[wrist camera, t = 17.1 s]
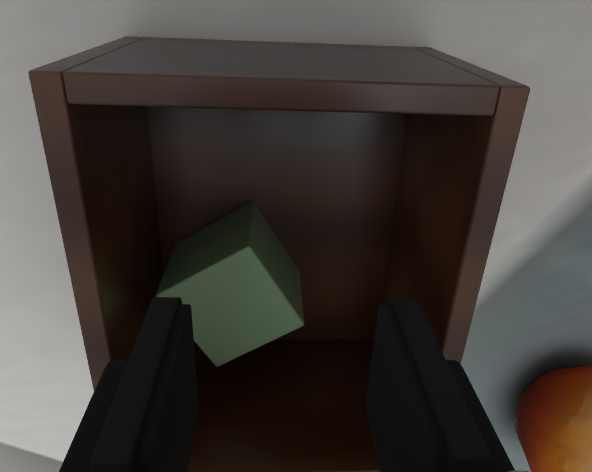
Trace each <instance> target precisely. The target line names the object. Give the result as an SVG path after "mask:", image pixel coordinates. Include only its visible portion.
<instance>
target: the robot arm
mask: <svg viewBox="0 0 592 472" xmlns="http://www.w3.org/2000/svg"><path fill="white" fill-rule="evenodd" d="M197 410H198V393H197V379H196V365H195V351H194V337H193V323H192V310H191V305H190V304H182V300H181V298H180V297H154V298H153V299H152V301H151V303H150V306H149V308H148V311H147V314H146V316H145V319H144V321H143V324H142V327H141V329H140V332H139V334H138V337H137V340H136V342H135V345H134V347H133V350H132V353H131V355H130V358H129V360H128V361H110V362H108V363H107V365H106V367H105V368H104V371H103V373H102V375H101V377H100V380H99V382H98V384H97V386H96V389H95V391H94V393H93V396H92V398H91V400H90V402H89V405H88V407H87V409H86V412H85V414H84V416H83V418H82V421H81V423H80V425H79V427H78V430H77V432H76V434H75V437H74V439H73V441H72V443H71V446H70V448H69V450H68V452H67V455H66V457H65V459H64V462H63V464H62V467H61V468H60V471H59V472H187V470H188V465H189V459H190V453H191V447H192V441H193V436H194V430H195V424H196V418H197ZM366 410H367V416H368V420H369V425H370V429H371V434H372V438H373V442H374V447H375V451H376V455H377V460H378V464H379V469H380V472H528V471H515V469H514V468H513V466H512V464H511V462H510V460H509V458H508V456H507V454H506V452H505V450H504V448H503V446H502V444H501V442H500V440H499V438H498V436H497V434H496V432H495V430H494V428H493V426H492V424H491V422H490V420H489V418H488V416H487V415H486V413H485V411H484V409H483V407H482V405H481V403H480V401H479V399H478V397H477V395H476V393H475V391H474V389H473V387H472V385H471V383H470V381H469V379H468V377H467V375H466V373H465V371H464V369H463V368H462V366H461V365H460V363H459V362H458V361H456V360H445V357H444V355H443V353H442V351H441V349H440V347H439V345H438V343H437V341H436V338H435V336H434V334H433V332H432V330H431V328H430V326H429V324H428V322H427V319H426V317H425V315H424V313H423V311H422V309H421V307H420V305H419V303H418V301H417V299H411V298H390V299H389V300H388V303H387V305H380V306H379V310H378V316H377V324H376V331H375V338H374V345H373V352H372V360H371V367H370V374H369V381H368V388H367V395H366Z"/></svg>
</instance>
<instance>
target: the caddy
mask: <svg viewBox="0 0 592 472" xmlns="http://www.w3.org/2000/svg"><path fill="white" fill-rule="evenodd" d="M29 78H30V82H31V87H32V92H33V97H34V102H35V107H36V112H37V117H38V121H39V126H40V131H41V136H42V141H43V146H44V151H45V155H46V160H47V165H48V170H49V175H50V180H51V185H52V189H53V194H54V199H55V204H56V209H57V214H58V219H59V223H60V228H61V233H62V238H63V243H64V248H65V253H66V257H67V262H68V267H69V272H70V277H71V282H72V287H73V291H74V296H75V301H76V306H77V311H78V316H79V321H80V325H81V330H82V335H83V340H84V345H85V350H86V355H87V359H88V364H89V369H90V374H91V379H92V384H93V389H94V391H95V389H96V386H97V384H98V382H99V380H100V377H101V375H102V373H103V371H104V368H105V367H106V365H107V363H108V362H110V361H128V360H129V358H130V355H131V353H132V350H133V347H134V345H135V342H136V340H137V337H138V334H139V332H140V329H141V327H142V324H143V321H144V319H145V316H146V314H147V311H148V308H149V306H150V303H151V301H152V299H153V298H154V297H156V293H157V290H158V288H159V285H160V282H161V280H162V277H163V274H164V272H165V269H166V266H167V264H168V261H169V258H170V255H171V253H172V250H173V247H174V245H175V243H177V242H179V241H181V240H182V239H184V238H186V237H188V236H190V235H192V234H193V233H195V232H197V231H199V230H201V229H203V228H204V227H206V226H208V225H210V224H212V223H214V222H215V221H217V220H219V219H221V218H223V217H225V216H226V215H228V214H230V213H232V212H234V211H236V210H237V209H239V208H241V207H243V206H245V205H247V204H248V203H250V202H254V203H255V204H256V206H257V207H258V209H259V210H260V212H261V213H262V215H263V217H264V218H265V220H266V221H267V223H268V224H269V226H270V227H271V229H272V230H273V232H274V233H275V235H276V236H277V238H278V239H279V241H280V242H281V244H282V245H283V247H284V248H285V250H286V251H287V253H288V254H289V256H290V257H291V259H292V260H293V262H294V263H295V265H296V266H297V268H298V269H299V274H300V284H301V295H302V305H303V315H304V326H302V327H300V328H298V329H296V330H294V331H292V332H289V333H287V334H285V335H283V336H281V337H279V338H277V339H275V340H273V341H271V342H269V343H266V344H264V345H262V346H260V347H258V348H256V349H254V350H252V351H250V352H248V353H245V354H243V355H241V356H239V357H237V358H235V359H233V360H231V361H229V362H227V363H225V364H222V365H220V366H218V367H216V366H215V365H214V363H213V362H212V361H211V360H210V359H209V358H208V356H207V355H206V354H205V353H204V352H203V351H202V349H201V348H200V347H199V346H198V345H197V344H196V342H195V341H194V351H195V365H196V379H197V393H198V410H197V418H196V424H195V430H194V436H193V441H192V447H191V453H190V459H189V465H188V470H187V472H380V469H379V464H378V460H377V455H376V451H375V447H374V442H373V438H372V434H371V429H370V425H369V420H368V416H367V410H366V395H367V388H368V381H369V374H370V367H371V360H372V352H373V345H374V338H375V331H376V324H377V316H378V310H379V306H380V305H387V303H388V300H389V299H390V298H411V299H417V301H418V303H419V305H420V307H421V309H422V311H423V313H424V315H425V317H426V319H427V322H428V324H429V326H430V328H431V330H432V332H433V334H434V336H435V338H436V341H437V343H438V345H439V347H440V349H441V351H442V353H443V355H444V357H445V360H456V361H458V362H459V363H460V364H461V360H462V356H463V352H464V348H465V344H466V340H467V336H468V332H469V329H470V325H471V321H472V317H473V313H474V309H475V305H476V301H477V297H478V293H479V289H480V285H481V281H482V277H483V273H484V269H485V265H486V261H487V257H488V253H489V249H490V245H491V242H492V238H493V234H494V230H495V226H496V222H497V218H498V214H499V210H500V206H501V202H502V198H503V194H504V190H505V186H506V182H507V178H508V174H509V170H510V166H511V162H512V158H513V155H514V151H515V147H516V143H517V139H518V135H519V131H520V127H521V123H522V119H523V115H524V111H525V107H526V103H527V99H528V95H529V91H530V88H529V87H528V86H526V85H523V84H521V83H518V82H516V81H513V80H511V79H508V78H506V77H503V76H500V75H498V74H495V73H493V72H490V71H488V70H485V69H483V68H480V67H478V66H475V65H473V64H470V63H468V62H465V61H463V60H460V59H458V58H455V57H452V56H450V55H447V54H445V53H442V52H440V51H437V50H435V49H432V48H426V47H398V46H371V45H343V44H316V43H289V42H261V41H234V40H206V39H179V38H152V37H123V38H121V39H118V40H115V41H112V42H109V43H106V44H103V45H101V46H98V47H95V48H92V49H89V50H87V51H84V52H81V53H78V54H75V55H73V56H70V57H67V58H64V59H61V60H58V61H56V62H53V63H50V64H47V65H44V66H42V67H39V68H36V69H33V70H30V71H29Z"/></svg>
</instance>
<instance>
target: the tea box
mask: <svg viewBox="0 0 592 472" xmlns="http://www.w3.org/2000/svg"><path fill="white" fill-rule="evenodd" d="M156 297H180V298H181V300H182V304H190V305H191V310H192V323H193V337H194V341H195V342H196V344H197V345H198V346H199V347H200V348H201V349H202V351H203V352H204V353H205V354H206V355H207V356H208V358H209V359H210V360H211V361H212V362H213V363H214V365H215V366H216V367H218V366H220V365H222V364H225V363H227V362H229V361H231V360H233V359H235V358H237V357H239V356H241V355H243V354H245V353H248V352H250V351H252V350H254V349H256V348H258V347H260V346H262V345H264V344H266V343H269V342H271V341H273V340H275V339H277V338H279V337H281V336H283V335H285V334H287V333H289V332H292V331H294V330H296V329H298V328H300V327H302V326H304V315H303V305H302V295H301V284H300V274H299V269H298V268H297V266H296V265H295V263H294V262H293V260H292V259H291V257H290V256H289V254H288V253H287V251H286V250H285V248H284V247H283V245H282V244H281V242H280V241H279V239H278V238H277V236H276V235H275V233H274V232H273V230H272V229H271V227H270V226H269V224H268V223H267V221H266V220H265V218H264V217H263V215H262V213H261V212H260V210H259V209H258V207H257V206H256V204H255V203H254V202H250V203H248V204H247V205H245V206H243V207H241V208H239V209H237V210H236V211H234V212H232V213H230V214H228V215H226V216H225V217H223V218H221V219H219V220H217V221H215V222H214V223H212V224H210V225H208V226H206V227H204V228H203V229H201V230H199V231H197V232H195V233H193V234H192V235H190V236H188V237H186V238H184V239H182V240H181V241H179V242H177V243H175V245H174V247H173V250H172V253H171V255H170V258H169V261H168V264H167V266H166V269H165V272H164V274H163V277H162V280H161V282H160V285H159V288H158V290H157V293H156Z"/></svg>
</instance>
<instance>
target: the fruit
mask: <svg viewBox="0 0 592 472" xmlns="http://www.w3.org/2000/svg"><path fill="white" fill-rule="evenodd" d="M512 420H513V422H514V425H515V427H516V432H517V434H518V438H519V440H520V443H521V445H522V448H523V451H524V453H525V456H526V458H527V461H528V464H529V466H530V469H531V471H532V472H592V367H569V368H559V369H555V370H552V371H549V372H547V373H545V374H543V375H541V376H540V377H539V378H537V379H536V380H535V381H534V382H533V383H532V384H531V385H530V386H529V387H528V388H527V389H526V390H525V391H524V393H523V394H522V395H521V396H520V398H519V400H518V405H517V408H516V414H515V418H514V419H512Z"/></svg>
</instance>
